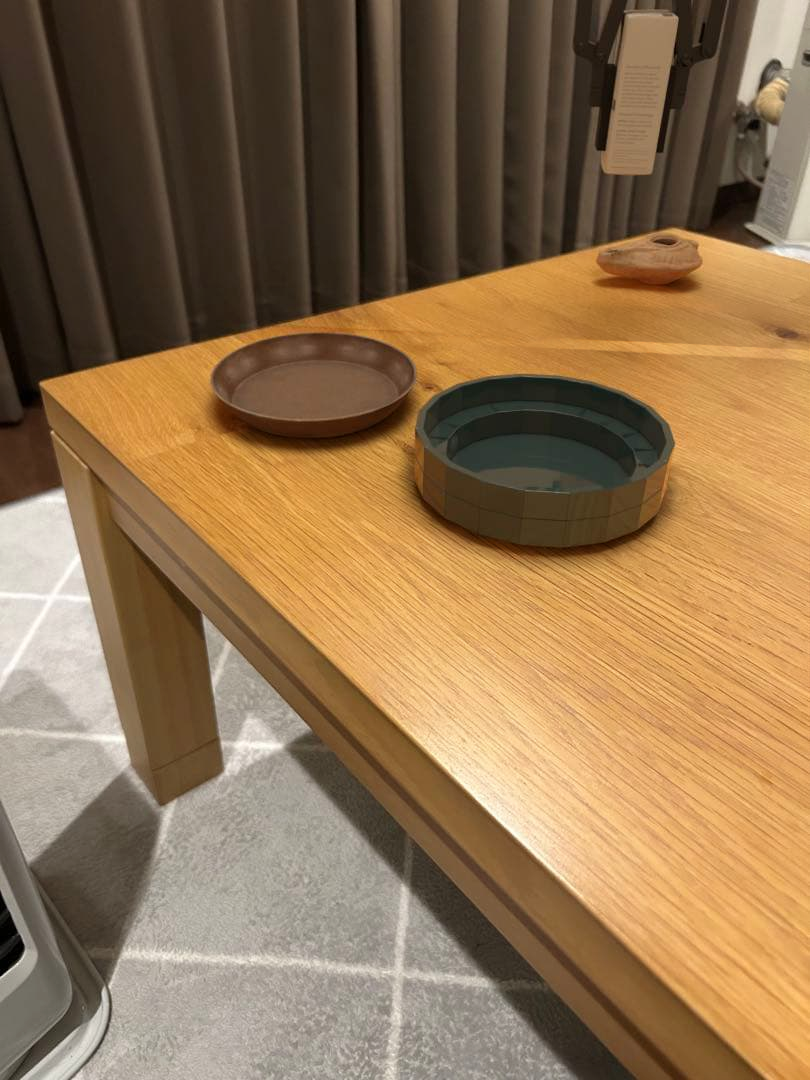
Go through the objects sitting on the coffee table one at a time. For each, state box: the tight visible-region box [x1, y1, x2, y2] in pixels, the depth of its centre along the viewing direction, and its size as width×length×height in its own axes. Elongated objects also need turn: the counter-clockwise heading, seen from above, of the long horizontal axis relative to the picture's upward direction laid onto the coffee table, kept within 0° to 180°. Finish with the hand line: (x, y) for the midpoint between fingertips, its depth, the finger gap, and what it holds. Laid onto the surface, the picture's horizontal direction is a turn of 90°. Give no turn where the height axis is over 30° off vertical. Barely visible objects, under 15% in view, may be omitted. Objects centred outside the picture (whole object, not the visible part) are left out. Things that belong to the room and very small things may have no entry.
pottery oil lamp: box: [595, 231, 704, 286], centre depth 103 cm, size 9×12×7 cm
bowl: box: [413, 373, 676, 548], centre depth 63 cm, size 18×18×5 cm
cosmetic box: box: [600, 9, 679, 176], centre depth 74 cm, size 6×4×12 cm
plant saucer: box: [209, 331, 418, 439], centre depth 75 cm, size 18×18×3 cm
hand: (628, 148), depth 77 cm, fingers closed on cosmetic box, 4 cm apart
